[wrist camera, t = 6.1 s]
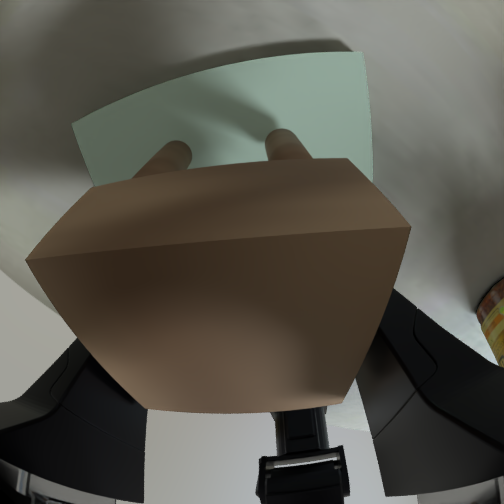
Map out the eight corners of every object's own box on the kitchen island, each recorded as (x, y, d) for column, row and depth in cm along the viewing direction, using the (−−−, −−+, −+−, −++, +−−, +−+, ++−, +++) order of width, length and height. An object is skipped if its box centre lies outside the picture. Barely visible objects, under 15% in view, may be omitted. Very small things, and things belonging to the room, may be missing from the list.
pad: (361, 277, 15) (365, 286, 14) (166, 307, 16) (164, 316, 16) (355, 53, 8) (363, 52, 7) (80, 119, 9) (70, 123, 9)
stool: (304, 120, 8) (411, 227, 3) (304, 248, 12) (341, 402, 6) (150, 138, 9) (25, 259, 3) (180, 258, 12) (145, 408, 6)
